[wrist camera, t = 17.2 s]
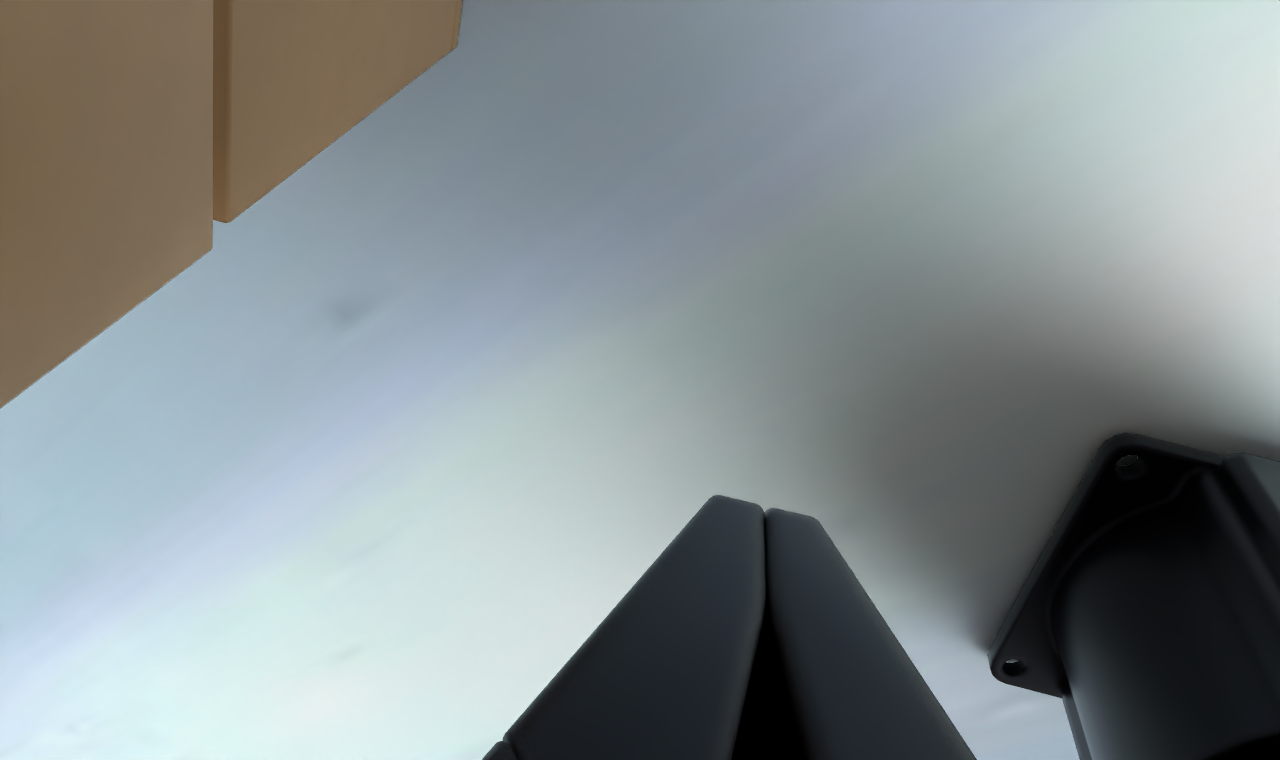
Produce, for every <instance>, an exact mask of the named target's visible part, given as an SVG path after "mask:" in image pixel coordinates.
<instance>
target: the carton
mask: <svg viewBox="0 0 1280 760" xmlns="http://www.w3.org/2000/svg"><path fill="white" fill-rule="evenodd" d="M462 3H463V0H213V220H216V221H220V222H224V223H229V222H231V221H232V220H233V219H235V218H236V217H237V216H239V215H240V214H241V213H242V212H244V211H245V210H246V209H248V208H249V207H250V206H252V205H253V204H254V203H255V202H257V201H258V200H259V199H261V198H262V197H263V196H264V195H266V194H267V193H268V192H270V191H271V190H272V189H273V188H275V187H276V186H277V185H279V184H280V183H281V182H283V181H284V180H285V179H286V178H288V177H289V176H290V175H292V174H293V173H294V172H295V171H297V170H298V169H299V168H301V167H302V166H303V165H305V164H306V163H307V162H308V161H310V160H311V159H312V158H314V157H315V156H316V155H317V154H319V153H320V152H321V151H323V150H324V149H325V148H327V147H328V146H329V145H330V144H332V143H333V142H334V141H336V140H337V139H338V138H339V137H341V136H342V135H343V134H345V133H346V132H347V131H348V130H350V129H351V128H352V127H354V126H355V125H356V124H358V123H359V122H360V121H361V120H363V119H364V118H365V117H367V116H368V115H369V114H370V113H372V112H373V111H374V110H376V109H377V108H378V107H380V106H381V105H382V104H383V103H385V102H386V101H387V100H389V99H390V98H391V97H392V96H394V95H395V94H396V93H398V92H399V91H400V90H402V89H403V88H404V87H405V86H407V85H408V84H409V83H411V82H412V81H413V80H414V79H416V78H417V77H418V76H420V75H421V74H422V73H423V72H425V71H426V70H427V69H429V68H430V67H431V66H433V65H434V64H435V63H436V62H438V61H439V60H440V59H442V58H443V57H444V56H445V55H447V54H448V53H449V52H450V51H452V50H453V49H455V48H456V47H457V44H458V36H459V28H460V20H461V11H462Z"/></svg>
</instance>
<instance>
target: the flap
mask: <svg viewBox="0 0 1280 760" xmlns="http://www.w3.org/2000/svg"><path fill="white" fill-rule="evenodd" d="M212 244H213V0H0V409H1V408H2V407H3V406H5V405H6V404H7V403H9V402H10V401H11V400H13V399H14V398H15V397H17V396H18V395H19V394H21V393H22V392H23V391H25V390H26V389H27V388H29V387H30V386H31V385H33V384H34V383H35V382H37V381H38V380H39V379H41V378H42V377H43V376H45V375H46V374H47V373H49V372H50V371H51V370H53V369H54V368H55V367H57V366H58V365H59V364H61V363H62V362H63V361H65V360H66V359H67V358H68V357H70V356H71V355H72V354H74V353H75V352H76V351H78V350H79V349H80V348H82V347H83V346H84V345H86V344H87V343H88V342H90V341H91V340H92V339H94V338H95V337H96V336H98V335H99V334H100V333H102V332H103V331H104V330H106V329H107V328H108V327H110V326H111V325H112V324H114V323H115V322H116V321H118V320H119V319H120V318H122V317H123V316H124V315H126V314H127V313H128V312H130V311H131V310H132V309H134V308H135V307H136V306H138V305H139V304H140V303H142V302H143V301H144V300H146V299H147V298H148V297H150V296H151V295H152V294H153V293H155V292H156V291H157V290H159V289H160V288H161V287H163V286H164V285H165V284H167V283H168V282H169V281H171V280H172V279H173V278H175V277H176V276H177V275H179V274H180V273H181V272H183V271H184V270H185V269H187V268H188V267H189V266H191V265H192V264H193V263H195V262H196V261H197V260H199V259H200V258H201V257H203V256H204V255H205V254H207V253H208V252H209V251H211V249H212Z"/></svg>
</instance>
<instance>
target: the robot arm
mask: <svg viewBox="0 0 1280 760" xmlns="http://www.w3.org/2000/svg"><path fill="white" fill-rule="evenodd" d="M1128 455H1136V456H1138V458H1137V459H1136V460H1135V461H1134V462H1133V463H1131V464H1129V465H1126V466H1123V465H1117V462H1118V461H1119V460H1120V459H1121V458H1123V457H1125V456H1128ZM1011 659H1020V660H1019V661H1017V662H1014V663H1007V662H1006V661H1008V660H1011ZM988 660H989V665H990V669H991V672H992V675H993V676H994V677H995V678H996V679H997V680H999V681H1001V682H1003V683H1006V684H1009V685H1013V686H1017V687H1021V688H1025V689H1029V690H1033V691H1036V692H1040V693H1044V694H1048V695H1052V696H1056V697H1060V698H1062V699H1063V703H1064V706H1065V710H1066V713H1067V716H1068V720H1069V723H1070V727H1071V730H1072V734H1073V737H1074V741H1075V744H1076V748H1077V751H1078V755H1079V758H1080V760H1280V462H1277V461H1273V460H1270V459H1266V458H1262V457H1258V456H1254V455H1250V454H1246V453H1239V454H1232V455H1227V456H1221V455H1217V454H1213V453H1209V452H1205V451H1202V450H1198V449H1194V448H1190V447H1186V446H1182V445H1178V444H1174V443H1171V442H1167V441H1163V440H1159V439H1155V438H1151V437H1147V436H1143V435H1140V434H1135V433H1122V434H1118V435H1114V436H1113V437H1111V438H1109V439H1107V440H1106V441H1105V442H1104V443H1103V444H1102V445H1101V446H1100V448H1099V449H1098V451H1097V453H1096V455H1095V457H1094V458H1093V460H1092V462H1091V464H1090V466H1089V467H1088V469H1087V471H1086V473H1085V475H1084V477H1083V478H1082V480H1081V482H1080V484H1079V486H1078V488H1077V489H1076V491H1075V493H1074V495H1073V497H1072V498H1071V500H1070V502H1069V504H1068V506H1067V508H1066V509H1065V511H1064V513H1063V515H1062V517H1061V518H1060V520H1059V522H1058V524H1057V526H1056V528H1055V529H1054V531H1053V533H1052V535H1051V537H1050V539H1049V540H1048V542H1047V544H1046V546H1045V548H1044V549H1043V551H1042V553H1041V555H1040V557H1039V559H1038V560H1037V562H1036V564H1035V566H1034V568H1033V569H1032V571H1031V573H1030V575H1029V577H1028V579H1027V580H1026V582H1025V584H1024V586H1023V588H1022V590H1021V591H1020V593H1019V595H1018V597H1017V599H1016V600H1015V602H1014V604H1013V606H1012V608H1011V610H1010V611H1009V613H1008V615H1007V617H1006V619H1005V620H1004V622H1003V624H1002V626H1001V628H1000V630H999V631H998V633H997V635H996V637H995V639H994V641H993V642H992V644H991V646H990V648H989V651H988ZM482 760H977V759H976V758H975V756H974V755H973V753H972V752H971V750H970V749H969V747H968V746H967V744H966V743H965V741H964V740H963V738H962V737H961V735H960V734H959V732H958V731H957V729H956V728H955V726H954V724H953V723H952V721H951V720H950V718H949V717H948V715H947V714H946V712H945V711H944V709H943V708H942V706H941V705H940V703H939V702H938V700H937V699H936V697H935V696H934V694H933V693H932V691H931V690H930V688H929V687H928V685H927V684H926V682H925V681H924V679H923V678H922V676H921V675H920V673H919V672H918V670H917V669H916V667H915V666H914V664H913V663H912V661H911V660H910V658H909V657H908V655H907V653H906V652H905V650H904V649H903V647H902V646H901V644H900V643H899V641H898V640H897V638H896V637H895V635H894V634H893V632H892V631H891V629H890V628H889V626H888V625H887V623H886V622H885V620H884V619H883V617H882V616H881V614H880V613H879V611H878V610H877V608H876V607H875V605H874V604H873V602H872V601H871V599H870V598H869V596H868V595H867V593H866V592H865V590H864V589H863V587H862V586H861V584H860V582H859V581H858V579H857V578H856V576H855V575H854V573H853V572H852V570H851V569H850V567H849V566H848V564H847V563H846V561H845V560H844V558H843V557H842V555H841V554H840V552H839V551H838V549H837V548H836V546H835V545H834V543H833V542H832V540H831V539H830V537H829V536H828V534H827V533H826V531H825V530H824V528H823V527H822V525H821V524H820V523H819V521H817V520H816V519H815V518H813V517H811V516H806V515H802V514H798V513H793V512H789V511H785V510H781V509H776V508H770V509H767V510H766V511H765V512H763V509H762V508H761V507H760V506H759V505H757V504H755V503H751V502H747V501H743V500H739V499H734V498H730V497H726V496H722V495H715V496H712V497H711V498H710V499H709V500H708V501H707V502H706V503H705V504H704V505H703V506H702V508H701V509H700V510H699V511H698V512H697V513H696V515H695V516H694V517H693V518H692V519H691V520H690V521H689V523H688V524H687V525H686V526H685V527H684V528H683V529H682V531H681V532H680V533H679V534H678V535H677V536H676V538H675V539H674V540H673V541H672V542H671V543H670V544H669V546H668V547H667V548H666V549H665V550H664V551H663V553H662V554H661V555H660V556H659V557H658V558H657V559H656V561H655V562H654V563H653V564H652V565H651V566H650V567H649V569H648V570H647V571H646V572H645V573H644V574H643V576H642V577H641V578H640V579H639V580H638V581H637V582H636V584H635V585H634V586H633V587H632V588H631V589H630V591H629V592H628V593H627V594H626V595H625V596H624V597H623V599H622V600H621V601H620V602H619V603H618V604H617V605H616V607H615V608H614V609H613V610H612V611H611V612H610V614H609V615H608V616H607V617H606V618H605V619H604V620H603V622H602V623H601V624H600V625H599V626H598V627H597V629H596V630H595V631H594V632H593V633H592V634H591V635H590V637H589V638H588V639H587V640H586V641H585V642H584V643H583V645H582V646H581V647H580V648H579V649H578V650H577V652H576V653H575V654H574V655H573V656H572V657H571V658H570V660H569V661H568V662H567V663H566V664H565V665H564V667H563V668H562V669H561V670H560V671H559V672H558V673H557V675H556V676H555V677H554V678H553V679H552V680H551V682H550V683H549V684H548V685H547V686H546V687H545V688H544V690H543V691H542V692H541V693H540V694H539V695H538V696H537V698H536V699H535V700H534V701H533V702H532V703H531V705H530V706H529V707H528V708H527V709H526V710H525V711H524V713H523V714H522V715H521V716H520V717H519V718H518V720H517V721H516V722H515V723H514V724H513V725H512V726H511V728H510V729H509V730H508V731H507V732H506V733H505V735H504V737H503V741H499V742H497V743H496V744H495V745H494V746H493V747H492V749H491V750H490V751H489V752H488V753H487V754H486V755H485V757H484V758H483V759H482Z"/></svg>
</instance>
